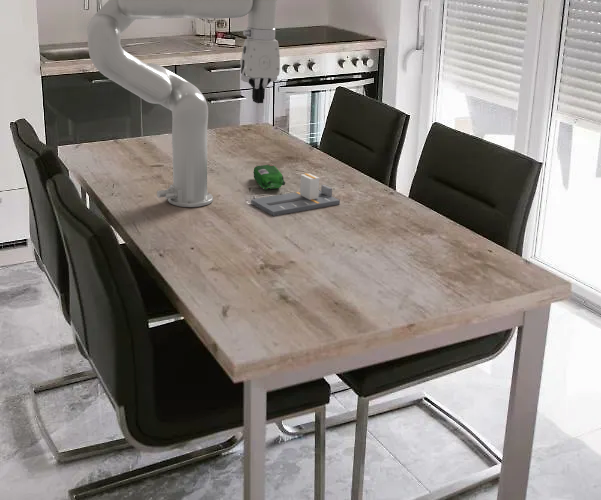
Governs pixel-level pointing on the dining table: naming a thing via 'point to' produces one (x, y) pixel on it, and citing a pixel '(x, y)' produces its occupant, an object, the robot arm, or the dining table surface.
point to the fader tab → (309, 186)
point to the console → (295, 202)
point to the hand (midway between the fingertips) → (258, 102)
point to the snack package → (268, 176)
